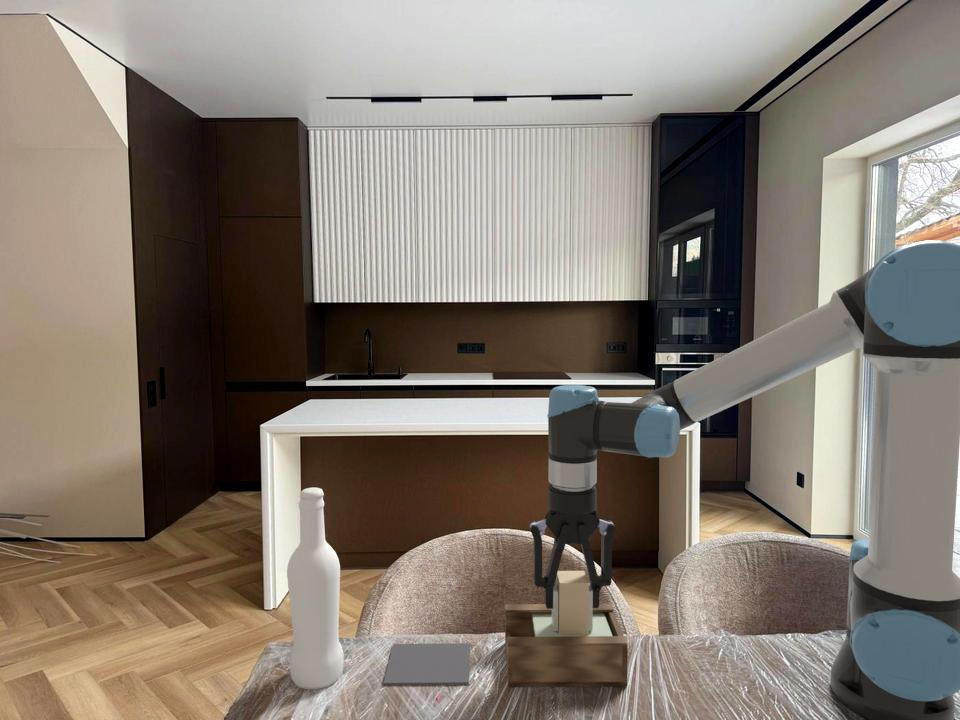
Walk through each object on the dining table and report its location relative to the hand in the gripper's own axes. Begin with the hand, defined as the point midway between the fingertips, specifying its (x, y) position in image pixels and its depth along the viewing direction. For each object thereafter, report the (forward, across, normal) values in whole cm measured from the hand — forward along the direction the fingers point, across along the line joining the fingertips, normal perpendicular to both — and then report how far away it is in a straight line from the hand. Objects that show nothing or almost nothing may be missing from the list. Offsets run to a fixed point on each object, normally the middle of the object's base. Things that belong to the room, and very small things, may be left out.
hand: (571, 626), depth 102 cm
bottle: (+6, +40, +3) cm, 41 cm away
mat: (+6, +23, 0) cm, 24 cm away
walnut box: (+6, +2, 0) cm, 6 cm away
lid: (+1, 0, 0) cm, 1 cm away
